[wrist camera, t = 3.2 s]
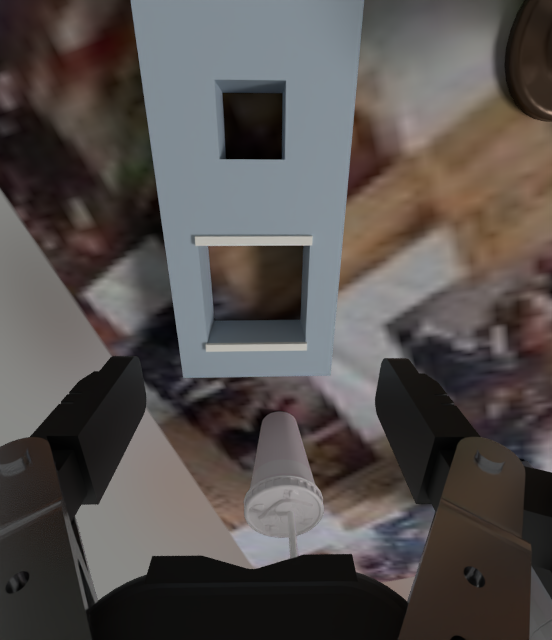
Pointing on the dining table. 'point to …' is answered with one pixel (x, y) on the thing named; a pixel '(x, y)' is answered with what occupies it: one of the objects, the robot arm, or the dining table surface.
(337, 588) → the robot arm
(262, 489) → the smoothie
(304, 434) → the dining table surface
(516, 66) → the candlestick
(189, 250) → the socket block
